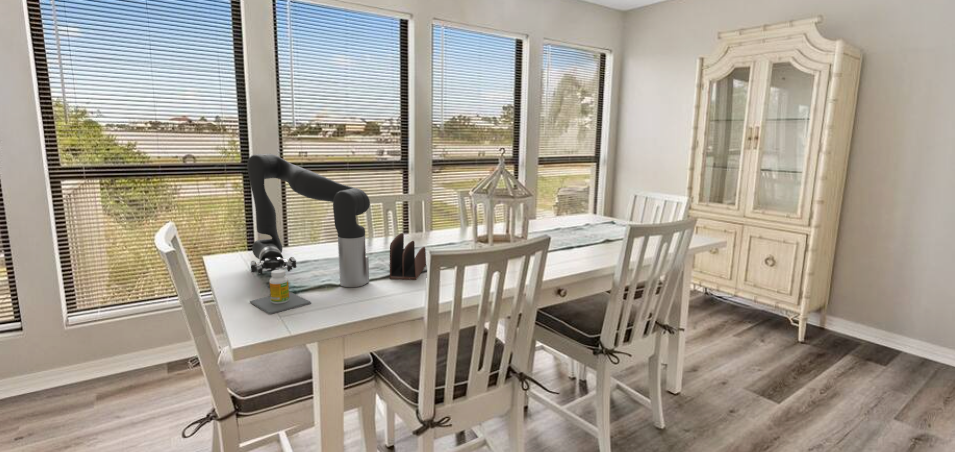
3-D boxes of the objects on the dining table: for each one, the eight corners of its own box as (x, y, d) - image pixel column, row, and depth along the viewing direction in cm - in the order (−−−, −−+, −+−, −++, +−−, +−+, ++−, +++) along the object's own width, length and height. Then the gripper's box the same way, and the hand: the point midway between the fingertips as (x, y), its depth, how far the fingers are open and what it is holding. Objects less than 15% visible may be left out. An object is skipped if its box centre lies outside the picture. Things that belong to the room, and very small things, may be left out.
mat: (289, 293, 166) (289, 291, 166) (310, 303, 157) (310, 301, 156) (249, 302, 157) (249, 300, 157) (270, 314, 147) (269, 312, 147)
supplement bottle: (283, 304, 154) (281, 274, 152) (267, 303, 155) (265, 273, 153) (292, 299, 159) (290, 269, 157) (277, 297, 160) (275, 268, 158)
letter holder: (389, 279, 183) (388, 241, 180) (402, 264, 202) (401, 230, 199) (416, 280, 182) (415, 242, 179) (426, 265, 201) (426, 231, 198)
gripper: (248, 250, 175) (250, 261, 161) (291, 246, 181) (297, 256, 167) (250, 270, 177) (252, 283, 162) (292, 266, 183) (298, 278, 169)
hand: (275, 270), depth 165 cm, fingers open, 8 cm apart
